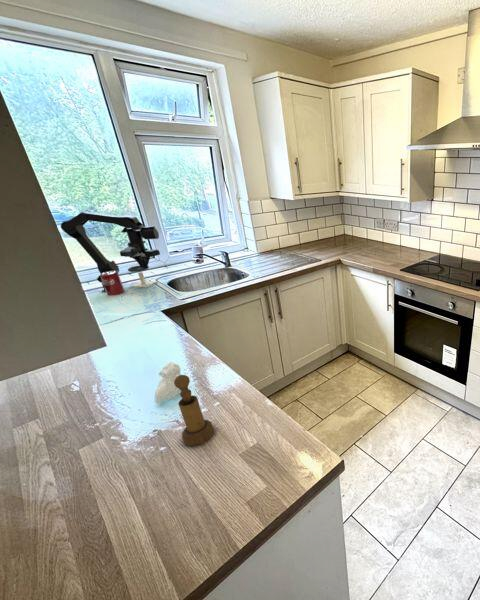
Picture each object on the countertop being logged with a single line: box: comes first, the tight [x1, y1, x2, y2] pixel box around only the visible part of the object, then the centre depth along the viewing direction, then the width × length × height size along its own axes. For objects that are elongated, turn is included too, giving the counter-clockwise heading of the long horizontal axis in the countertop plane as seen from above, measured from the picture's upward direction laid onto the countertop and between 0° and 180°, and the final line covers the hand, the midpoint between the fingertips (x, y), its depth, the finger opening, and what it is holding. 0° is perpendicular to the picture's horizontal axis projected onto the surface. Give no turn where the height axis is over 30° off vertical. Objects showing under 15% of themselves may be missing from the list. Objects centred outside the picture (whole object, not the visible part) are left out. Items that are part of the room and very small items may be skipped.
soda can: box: [99, 271, 126, 296], centre depth 172 cm, size 7×7×12 cm
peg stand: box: [129, 271, 158, 288], centre depth 185 cm, size 9×9×8 cm
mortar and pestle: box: [174, 374, 214, 447], centre depth 79 cm, size 7×6×18 cm
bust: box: [154, 361, 182, 405], centre depth 96 cm, size 12×8×11 cm
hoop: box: [127, 264, 150, 273], centre depth 181 cm, size 9×9×2 cm
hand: (144, 268), depth 181 cm, fingers closed on hoop, 1 cm apart
